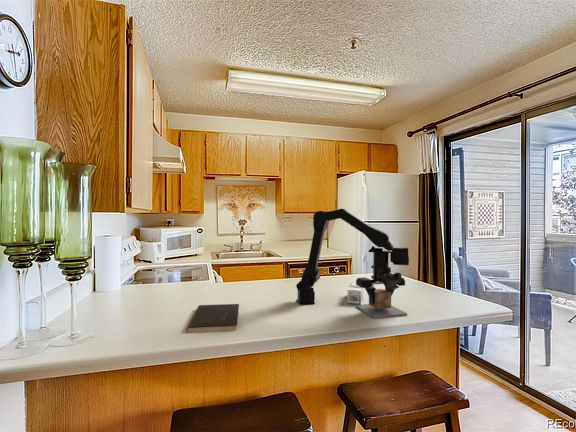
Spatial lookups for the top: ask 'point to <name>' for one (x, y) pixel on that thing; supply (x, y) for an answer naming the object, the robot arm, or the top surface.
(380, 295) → the walnut cube
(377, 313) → the trivet
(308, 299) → the robot arm
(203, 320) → the hardcover book
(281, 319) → the top surface
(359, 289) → the syrup box
